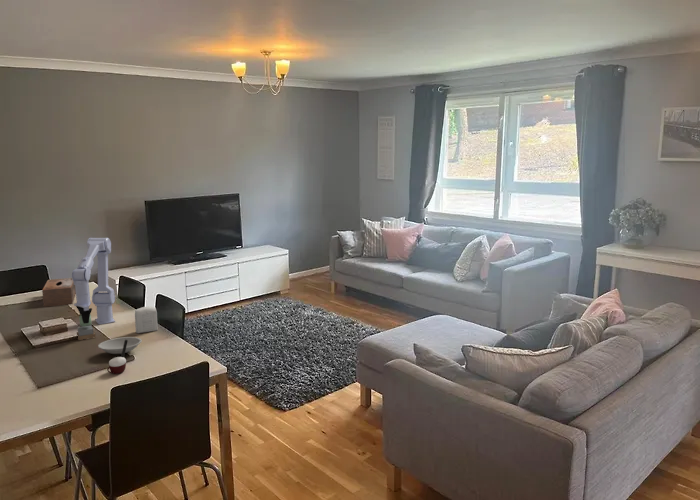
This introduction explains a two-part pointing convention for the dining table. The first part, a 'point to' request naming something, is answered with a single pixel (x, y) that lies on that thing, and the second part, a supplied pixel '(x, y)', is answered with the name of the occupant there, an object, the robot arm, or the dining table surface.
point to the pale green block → (85, 323)
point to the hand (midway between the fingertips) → (85, 321)
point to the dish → (119, 345)
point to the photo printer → (146, 319)
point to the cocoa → (118, 362)
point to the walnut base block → (86, 336)
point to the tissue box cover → (59, 292)
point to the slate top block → (85, 330)
